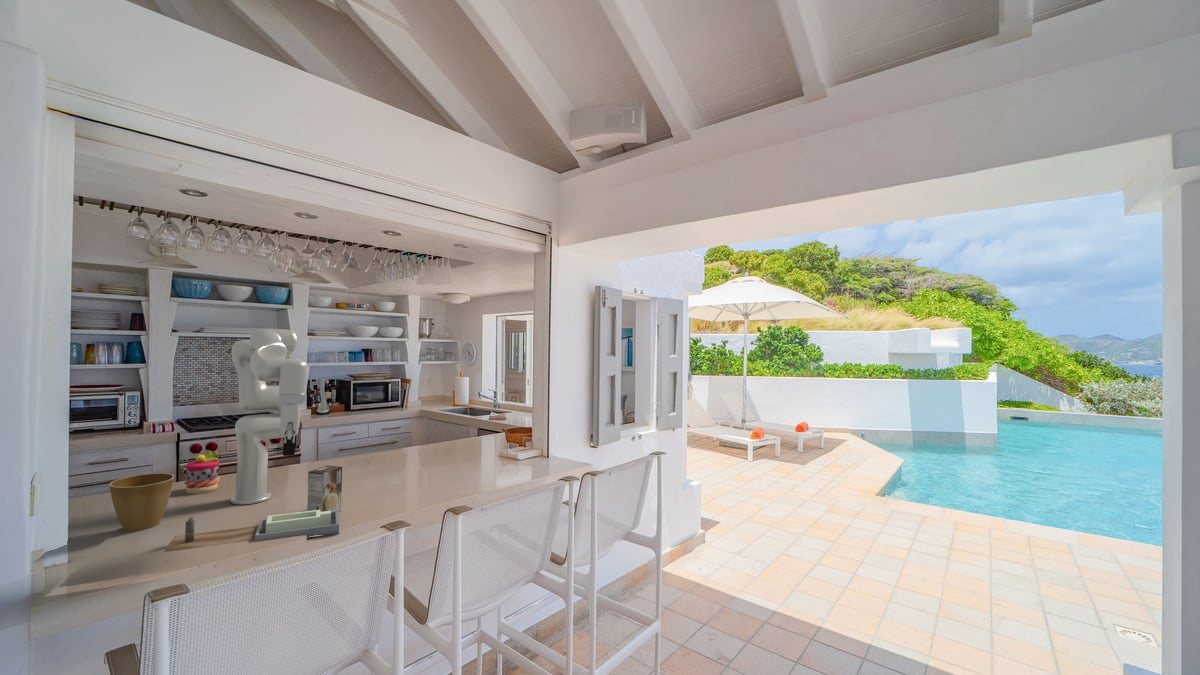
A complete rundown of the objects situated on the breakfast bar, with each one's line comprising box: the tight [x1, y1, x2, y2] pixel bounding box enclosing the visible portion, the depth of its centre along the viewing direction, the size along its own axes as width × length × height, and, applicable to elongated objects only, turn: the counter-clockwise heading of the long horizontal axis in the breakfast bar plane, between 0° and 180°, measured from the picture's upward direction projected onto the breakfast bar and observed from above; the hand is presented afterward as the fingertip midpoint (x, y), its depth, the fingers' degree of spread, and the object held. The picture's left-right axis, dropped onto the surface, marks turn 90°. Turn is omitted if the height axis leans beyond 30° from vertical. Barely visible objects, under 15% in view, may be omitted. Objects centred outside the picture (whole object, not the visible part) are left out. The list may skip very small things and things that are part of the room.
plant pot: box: [109, 472, 175, 532], centre depth 155 cm, size 15×15×16 cm
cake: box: [183, 449, 221, 495], centre depth 196 cm, size 10×11×15 cm
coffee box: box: [307, 465, 343, 513], centre depth 174 cm, size 9×6×16 cm
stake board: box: [163, 516, 257, 553], centre depth 148 cm, size 12×20×8 cm, turn 119°
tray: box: [254, 511, 340, 542], centre depth 158 cm, size 14×22×3 cm, turn 119°
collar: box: [265, 510, 331, 533], centre depth 158 cm, size 7×17×4 cm, turn 119°
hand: (289, 451), depth 161 cm, fingers open, 9 cm apart
